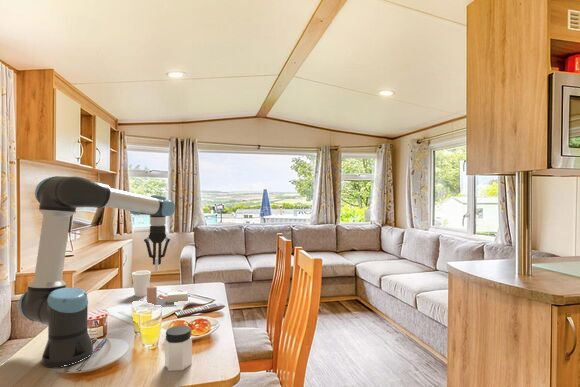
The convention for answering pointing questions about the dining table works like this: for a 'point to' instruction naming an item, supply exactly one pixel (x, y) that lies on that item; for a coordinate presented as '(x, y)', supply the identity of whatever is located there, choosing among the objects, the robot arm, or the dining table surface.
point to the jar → (178, 348)
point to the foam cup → (141, 282)
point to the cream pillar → (177, 297)
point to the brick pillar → (152, 294)
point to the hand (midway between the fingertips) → (156, 270)
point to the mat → (165, 302)
